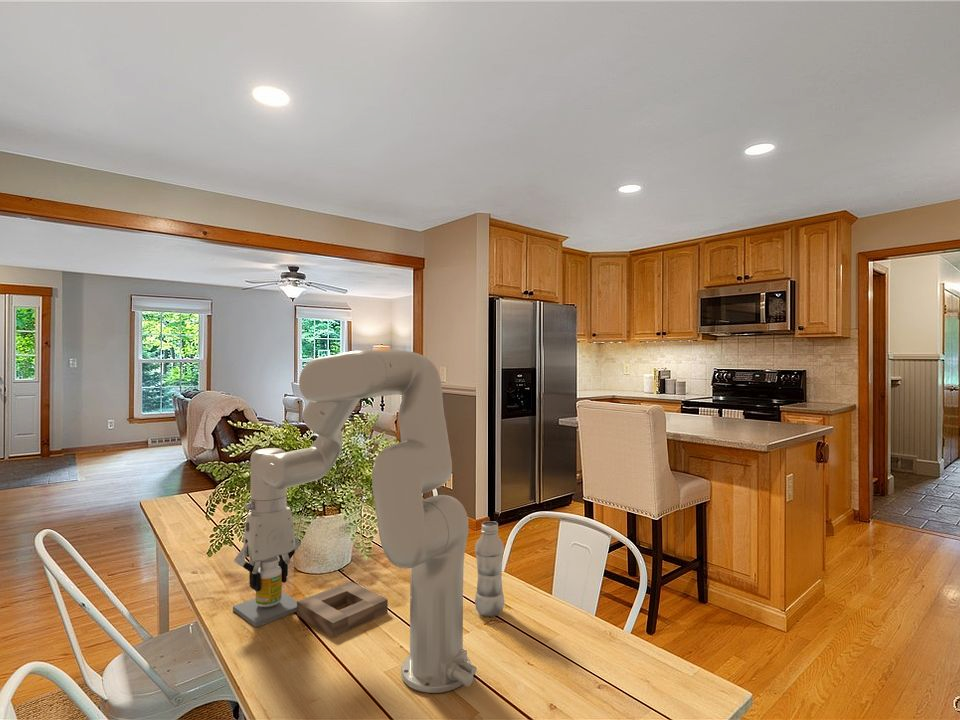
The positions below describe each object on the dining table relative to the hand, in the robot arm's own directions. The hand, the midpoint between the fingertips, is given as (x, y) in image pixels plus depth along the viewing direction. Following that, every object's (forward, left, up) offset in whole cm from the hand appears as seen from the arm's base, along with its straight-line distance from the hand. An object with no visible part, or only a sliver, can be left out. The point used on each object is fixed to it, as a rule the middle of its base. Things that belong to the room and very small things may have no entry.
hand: (269, 584), depth 118 cm
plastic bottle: (-38, -32, -6) cm, 50 cm away
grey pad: (0, 0, -6) cm, 6 cm away
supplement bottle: (0, 0, -4) cm, 4 cm away
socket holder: (-14, -10, -6) cm, 18 cm away
